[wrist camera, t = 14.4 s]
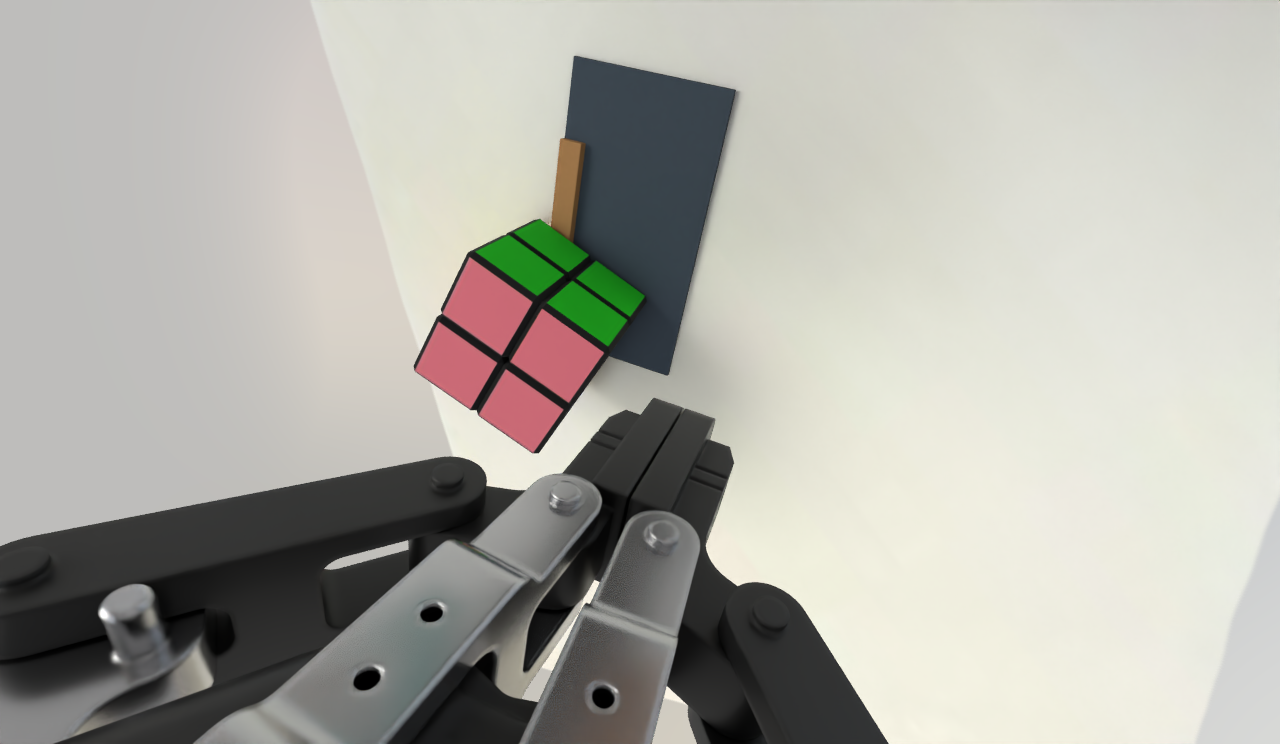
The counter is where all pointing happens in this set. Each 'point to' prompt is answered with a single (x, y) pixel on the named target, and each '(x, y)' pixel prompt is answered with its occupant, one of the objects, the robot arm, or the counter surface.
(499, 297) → the puzzle cube
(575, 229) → the chalkboard
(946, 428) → the counter surface
